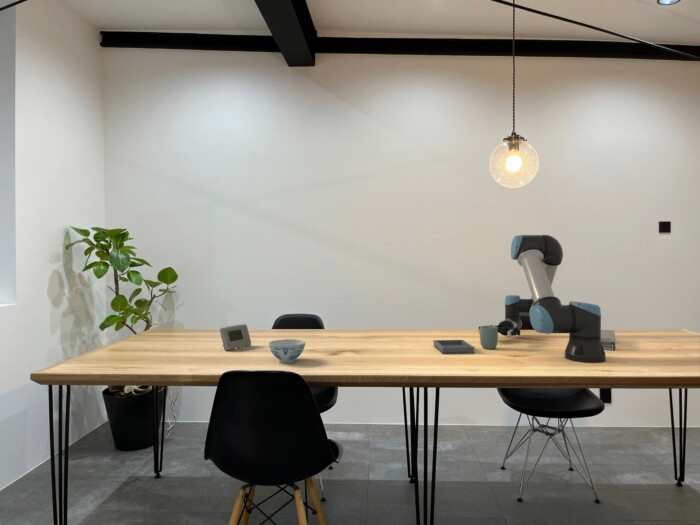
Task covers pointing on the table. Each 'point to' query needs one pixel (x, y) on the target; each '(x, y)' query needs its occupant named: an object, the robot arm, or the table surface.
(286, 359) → the chinaware
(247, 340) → the digital clock
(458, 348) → the tray
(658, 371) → the table surface
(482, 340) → the cup
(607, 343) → the power supply unit
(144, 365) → the table surface
